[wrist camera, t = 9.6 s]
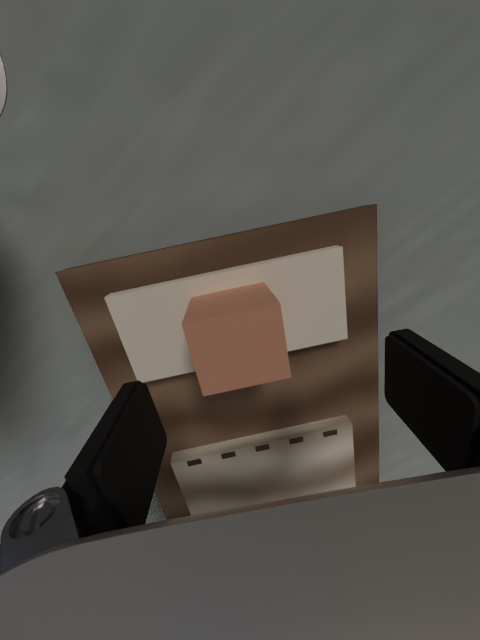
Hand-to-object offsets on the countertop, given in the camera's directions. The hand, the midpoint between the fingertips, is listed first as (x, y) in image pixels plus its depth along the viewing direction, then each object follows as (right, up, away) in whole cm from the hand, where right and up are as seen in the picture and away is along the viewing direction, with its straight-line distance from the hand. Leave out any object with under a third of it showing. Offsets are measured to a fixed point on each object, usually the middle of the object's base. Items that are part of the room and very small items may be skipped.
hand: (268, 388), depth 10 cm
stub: (-2, +3, +9) cm, 10 cm away
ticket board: (0, -5, +14) cm, 15 cm away
